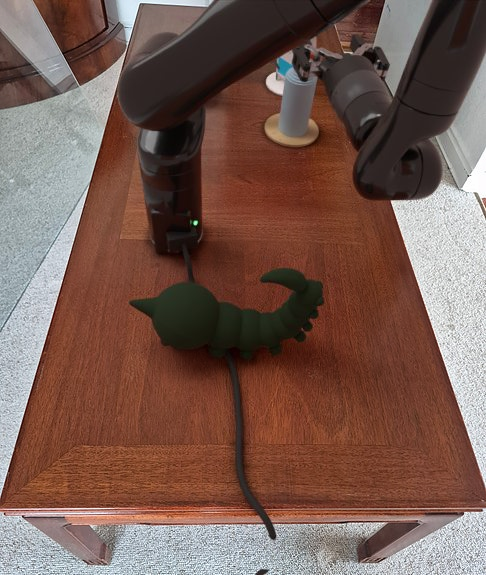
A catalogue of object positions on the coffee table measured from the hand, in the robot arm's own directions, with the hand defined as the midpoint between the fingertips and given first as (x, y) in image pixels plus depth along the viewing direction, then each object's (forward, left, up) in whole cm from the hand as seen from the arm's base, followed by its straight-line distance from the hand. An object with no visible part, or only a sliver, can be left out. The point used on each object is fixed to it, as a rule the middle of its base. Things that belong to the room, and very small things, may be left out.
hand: (328, 39), depth 75 cm
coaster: (+11, +2, -25) cm, 27 cm away
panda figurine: (+30, +2, -25) cm, 39 cm away
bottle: (+11, +2, -24) cm, 27 cm away
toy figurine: (-43, +15, -25) cm, 52 cm away
